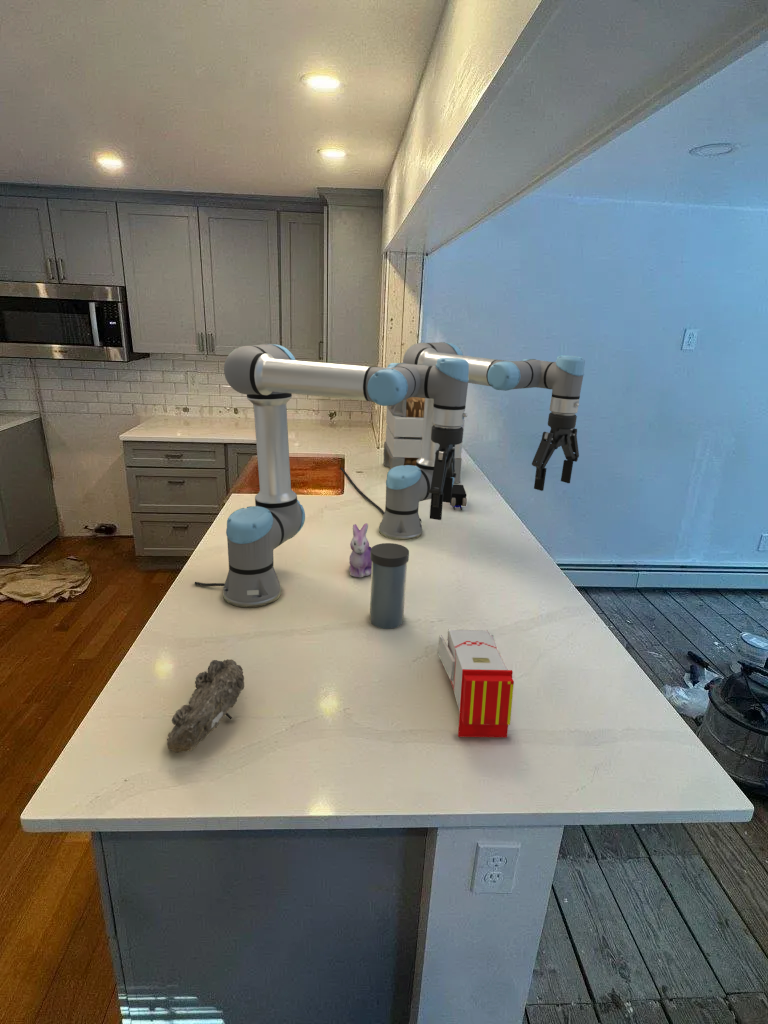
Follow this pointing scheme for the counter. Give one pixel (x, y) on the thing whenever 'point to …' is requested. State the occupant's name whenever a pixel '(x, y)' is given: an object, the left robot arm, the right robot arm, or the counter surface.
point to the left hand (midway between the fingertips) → (440, 510)
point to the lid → (389, 555)
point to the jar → (387, 596)
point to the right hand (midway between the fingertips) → (552, 485)
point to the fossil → (206, 705)
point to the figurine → (360, 553)
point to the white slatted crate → (409, 435)
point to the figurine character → (458, 496)
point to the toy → (478, 682)
